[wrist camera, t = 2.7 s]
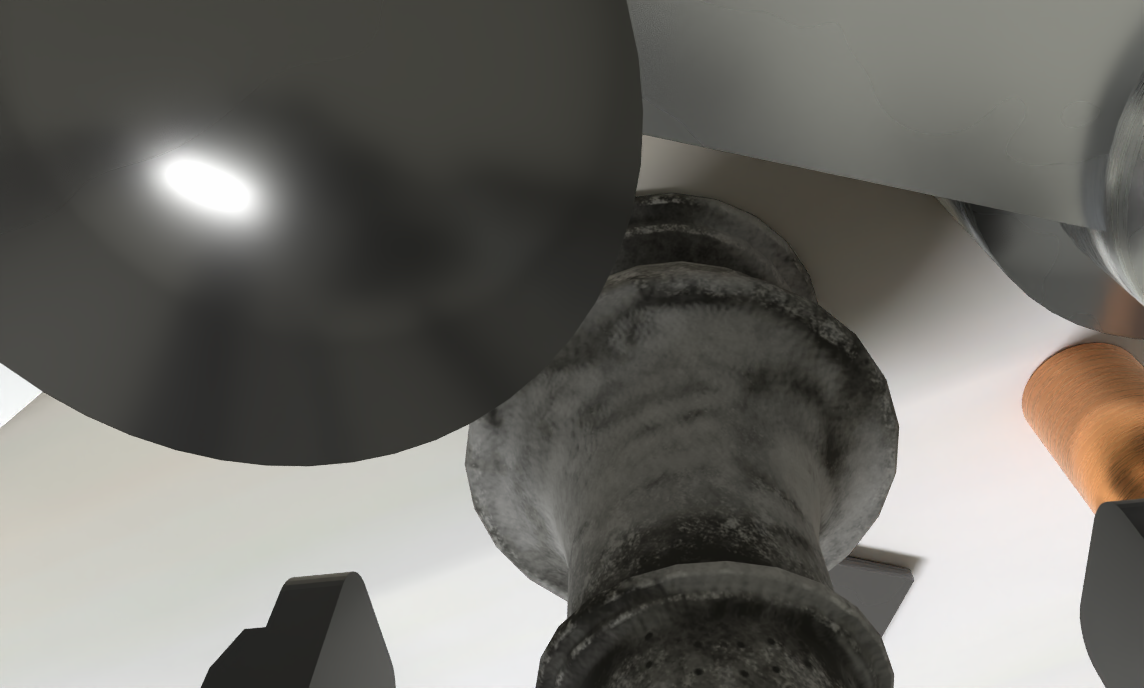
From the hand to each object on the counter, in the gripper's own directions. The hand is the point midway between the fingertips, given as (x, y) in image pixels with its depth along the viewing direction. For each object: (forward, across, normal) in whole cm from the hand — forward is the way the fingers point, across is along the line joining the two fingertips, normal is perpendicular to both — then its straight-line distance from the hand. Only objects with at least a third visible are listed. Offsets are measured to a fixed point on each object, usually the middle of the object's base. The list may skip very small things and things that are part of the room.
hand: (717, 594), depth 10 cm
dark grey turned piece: (+6, 0, 0) cm, 6 cm away
